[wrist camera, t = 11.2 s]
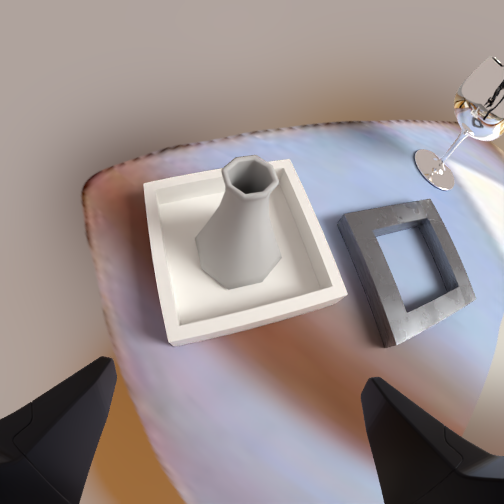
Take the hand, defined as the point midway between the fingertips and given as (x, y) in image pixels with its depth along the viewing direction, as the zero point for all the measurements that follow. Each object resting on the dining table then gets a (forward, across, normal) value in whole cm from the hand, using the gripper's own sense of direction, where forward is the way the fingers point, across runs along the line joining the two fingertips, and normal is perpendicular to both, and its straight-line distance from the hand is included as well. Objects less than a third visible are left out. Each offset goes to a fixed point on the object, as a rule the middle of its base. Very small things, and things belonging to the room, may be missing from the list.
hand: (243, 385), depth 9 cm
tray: (+18, 0, +2) cm, 18 cm away
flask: (+17, 0, +2) cm, 17 cm away
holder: (+18, -18, +2) cm, 25 cm away
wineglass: (+29, -27, -10) cm, 41 cm away
